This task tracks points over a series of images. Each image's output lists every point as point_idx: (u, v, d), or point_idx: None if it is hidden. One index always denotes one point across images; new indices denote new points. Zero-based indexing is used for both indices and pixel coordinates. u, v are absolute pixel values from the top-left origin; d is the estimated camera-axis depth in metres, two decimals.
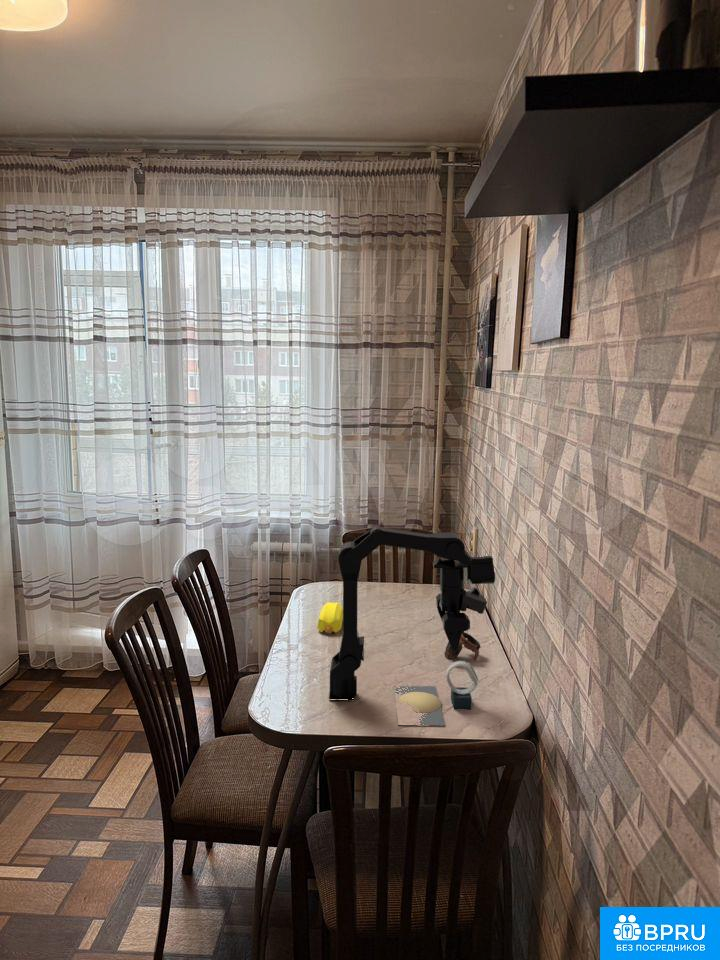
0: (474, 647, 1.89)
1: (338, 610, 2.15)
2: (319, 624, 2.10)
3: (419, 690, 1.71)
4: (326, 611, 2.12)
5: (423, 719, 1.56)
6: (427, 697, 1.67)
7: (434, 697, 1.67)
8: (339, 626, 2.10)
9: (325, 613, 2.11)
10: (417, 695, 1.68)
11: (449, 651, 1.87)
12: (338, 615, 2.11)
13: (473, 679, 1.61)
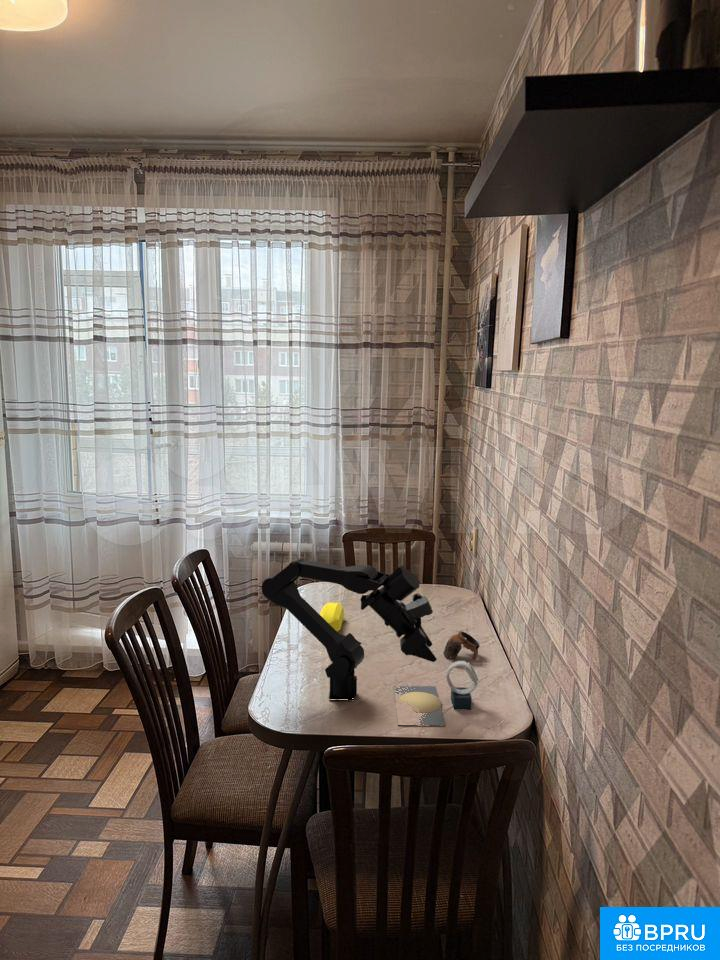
0: (473, 647, 1.89)
1: (338, 610, 2.15)
2: None
3: (419, 690, 1.71)
4: (326, 611, 2.12)
5: (423, 719, 1.56)
6: (427, 697, 1.67)
7: (434, 697, 1.67)
8: (338, 626, 2.10)
9: (325, 613, 2.11)
10: (417, 695, 1.68)
11: (448, 651, 1.87)
12: (337, 615, 2.11)
13: (473, 679, 1.61)
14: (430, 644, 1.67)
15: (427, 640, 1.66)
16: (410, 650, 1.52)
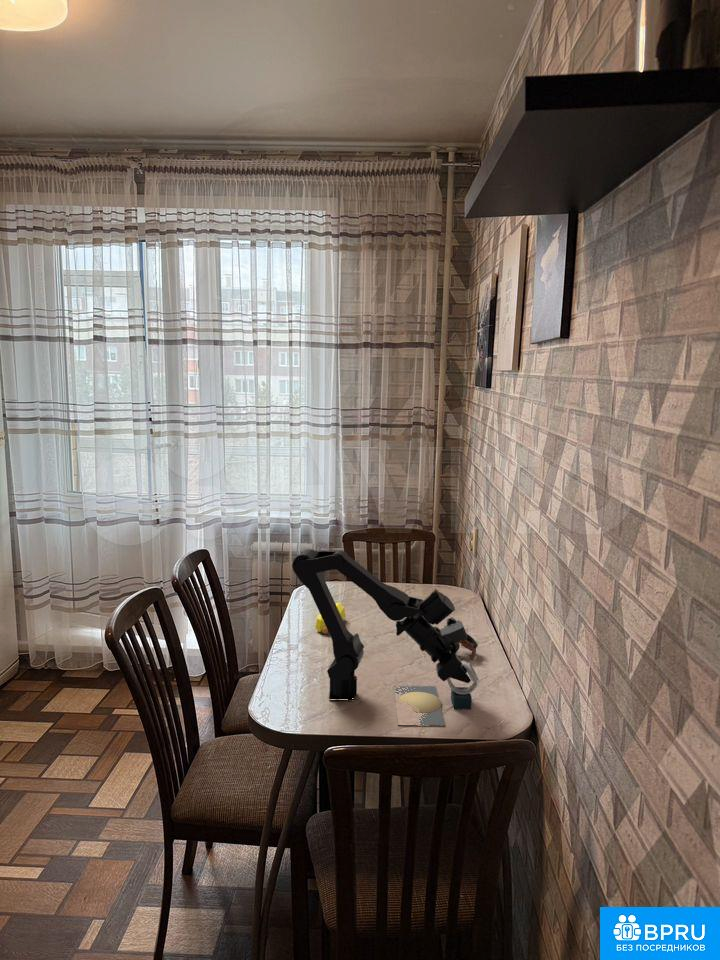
0: (471, 646, 1.90)
1: None
2: (317, 624, 2.10)
3: (419, 690, 1.71)
4: None
5: (423, 719, 1.56)
6: (427, 697, 1.67)
7: (434, 697, 1.67)
8: None
9: None
10: (417, 695, 1.68)
11: None
12: None
13: (473, 679, 1.61)
14: (465, 671, 1.66)
15: (462, 667, 1.65)
16: (447, 676, 1.53)
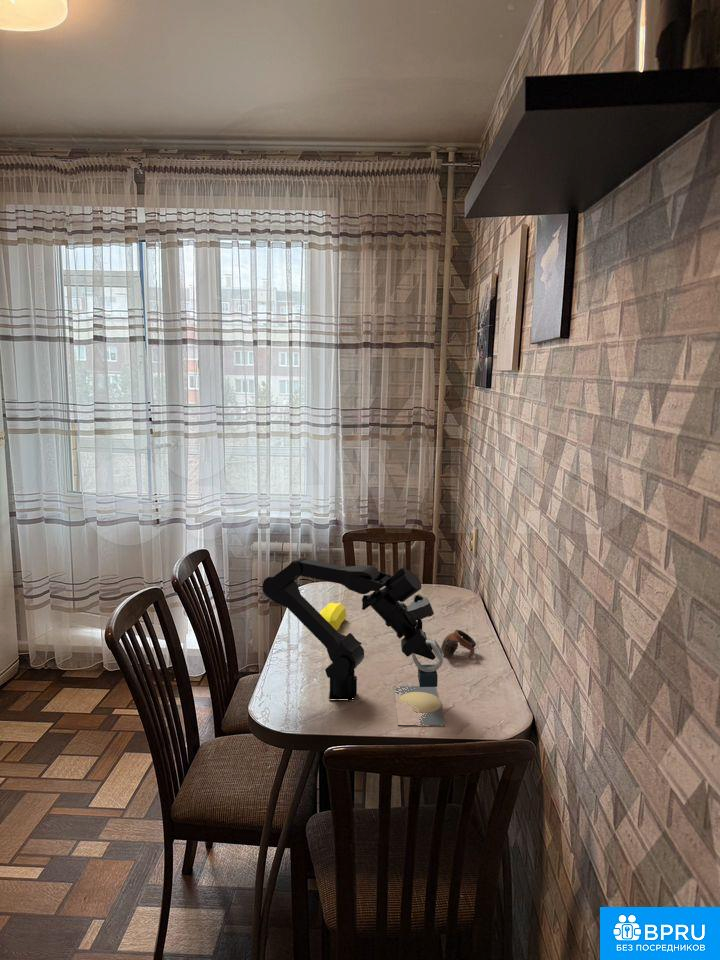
0: (470, 645, 1.90)
1: (337, 611, 2.14)
2: None
3: (419, 690, 1.71)
4: (324, 611, 2.12)
5: (423, 719, 1.56)
6: (427, 697, 1.67)
7: (434, 697, 1.67)
8: (335, 627, 2.09)
9: (322, 613, 2.11)
10: (417, 695, 1.68)
11: (445, 649, 1.88)
12: (335, 616, 2.11)
13: (439, 657, 1.60)
14: (431, 649, 1.65)
15: (428, 644, 1.65)
16: (411, 651, 1.53)
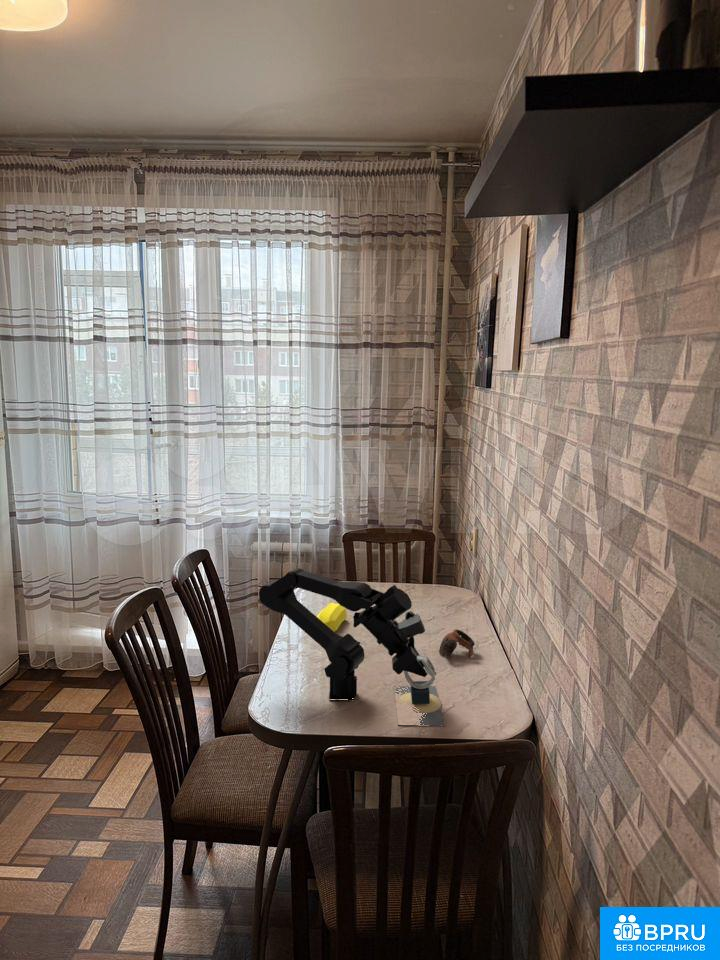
0: (468, 644, 1.91)
1: (337, 611, 2.14)
2: None
3: None
4: (324, 611, 2.12)
5: (423, 719, 1.56)
6: None
7: (434, 697, 1.67)
8: (334, 627, 2.09)
9: (322, 613, 2.11)
10: None
11: (444, 648, 1.89)
12: (334, 616, 2.10)
13: (430, 674, 1.61)
14: (423, 665, 1.65)
15: (420, 661, 1.65)
16: (402, 669, 1.53)
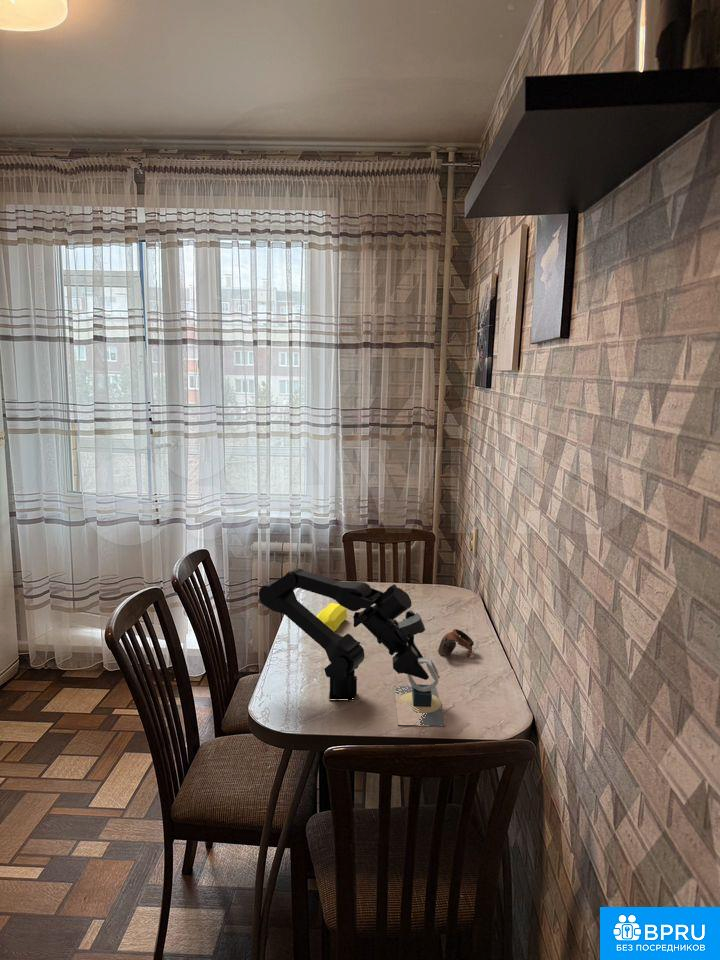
0: (468, 644, 1.91)
1: (337, 611, 2.14)
2: None
3: None
4: (323, 611, 2.12)
5: (423, 719, 1.56)
6: None
7: (434, 697, 1.67)
8: (334, 627, 2.09)
9: (321, 613, 2.11)
10: None
11: (443, 648, 1.89)
12: (334, 616, 2.10)
13: (434, 676, 1.61)
14: None
15: (420, 657, 1.67)
16: (402, 668, 1.53)
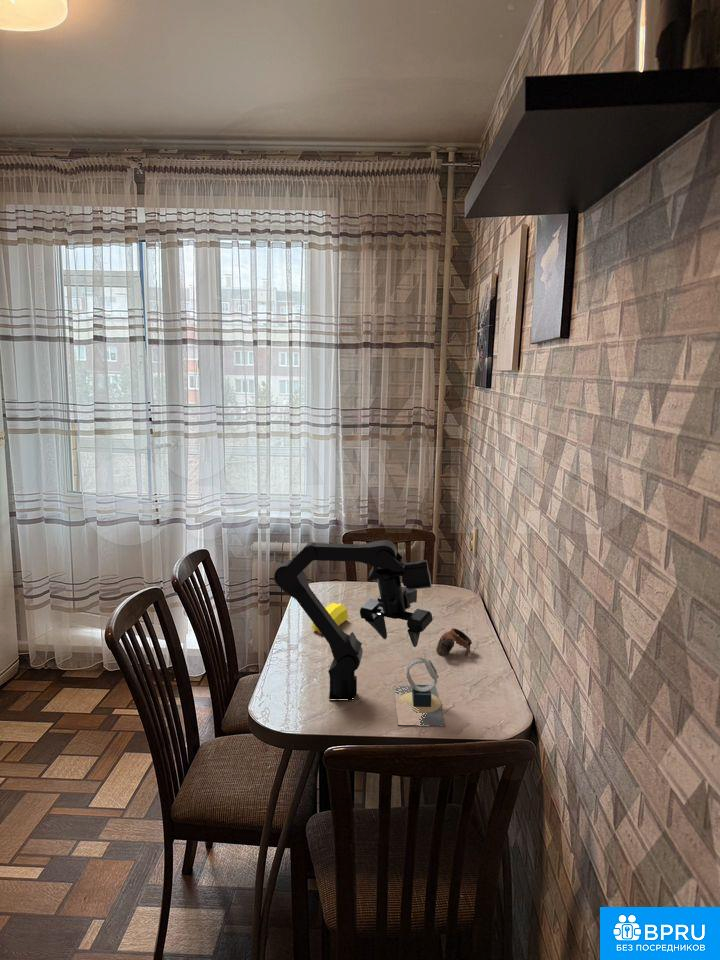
0: (466, 643, 1.92)
1: (336, 612, 2.13)
2: None
3: None
4: None
5: (423, 719, 1.56)
6: None
7: (434, 697, 1.67)
8: None
9: None
10: None
11: (441, 647, 1.90)
12: (333, 616, 2.10)
13: (433, 676, 1.61)
14: (385, 637, 1.71)
15: (385, 632, 1.71)
16: (424, 627, 1.60)
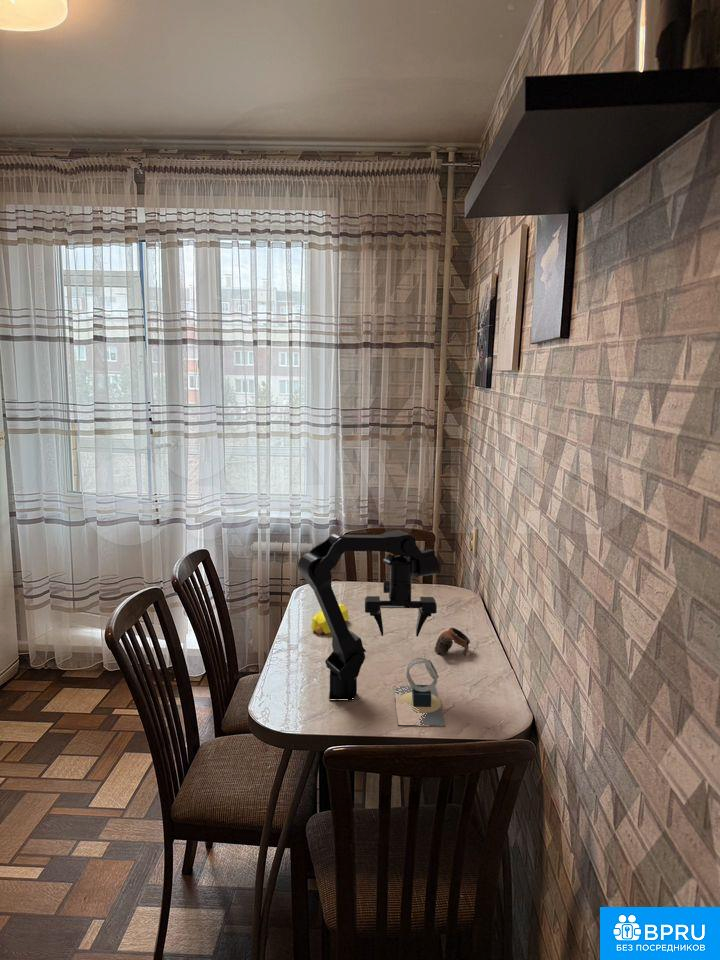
0: (464, 642, 1.92)
1: None
2: (313, 623, 2.10)
3: None
4: None
5: (423, 719, 1.56)
6: None
7: (434, 697, 1.67)
8: None
9: (319, 613, 2.11)
10: None
11: (440, 647, 1.90)
12: None
13: (433, 676, 1.61)
14: (382, 634, 1.74)
15: None
16: None
